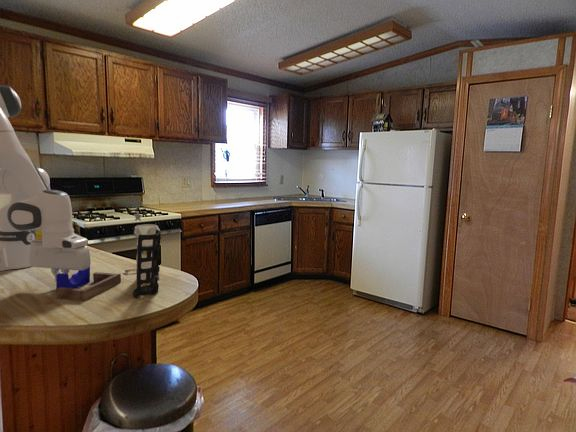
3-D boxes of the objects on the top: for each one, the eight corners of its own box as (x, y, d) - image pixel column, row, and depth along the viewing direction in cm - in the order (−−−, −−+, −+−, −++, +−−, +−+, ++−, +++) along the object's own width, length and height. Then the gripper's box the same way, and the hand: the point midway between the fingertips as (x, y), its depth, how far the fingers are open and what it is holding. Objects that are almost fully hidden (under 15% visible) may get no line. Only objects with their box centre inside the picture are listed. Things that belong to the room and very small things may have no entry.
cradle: (57, 298, 117) (56, 288, 116) (96, 280, 134) (95, 272, 134) (84, 300, 115) (84, 291, 115) (120, 282, 133) (120, 273, 132)
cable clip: (77, 280, 133) (78, 263, 132) (89, 282, 133) (90, 265, 132) (52, 292, 121) (52, 273, 120) (64, 294, 121) (65, 275, 120)
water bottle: (159, 282, 133) (156, 211, 129) (133, 283, 132) (130, 211, 128) (162, 275, 141) (160, 208, 137) (138, 276, 140) (135, 208, 136)
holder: (139, 285, 129) (142, 227, 126) (162, 287, 129) (166, 229, 126) (128, 297, 118) (132, 234, 115) (153, 299, 118) (157, 237, 115)
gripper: (22, 240, 123) (25, 281, 125) (78, 243, 119) (81, 286, 121) (38, 236, 129) (41, 276, 131) (92, 239, 125) (94, 280, 127)
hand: (61, 281), depth 126 cm, fingers closed
